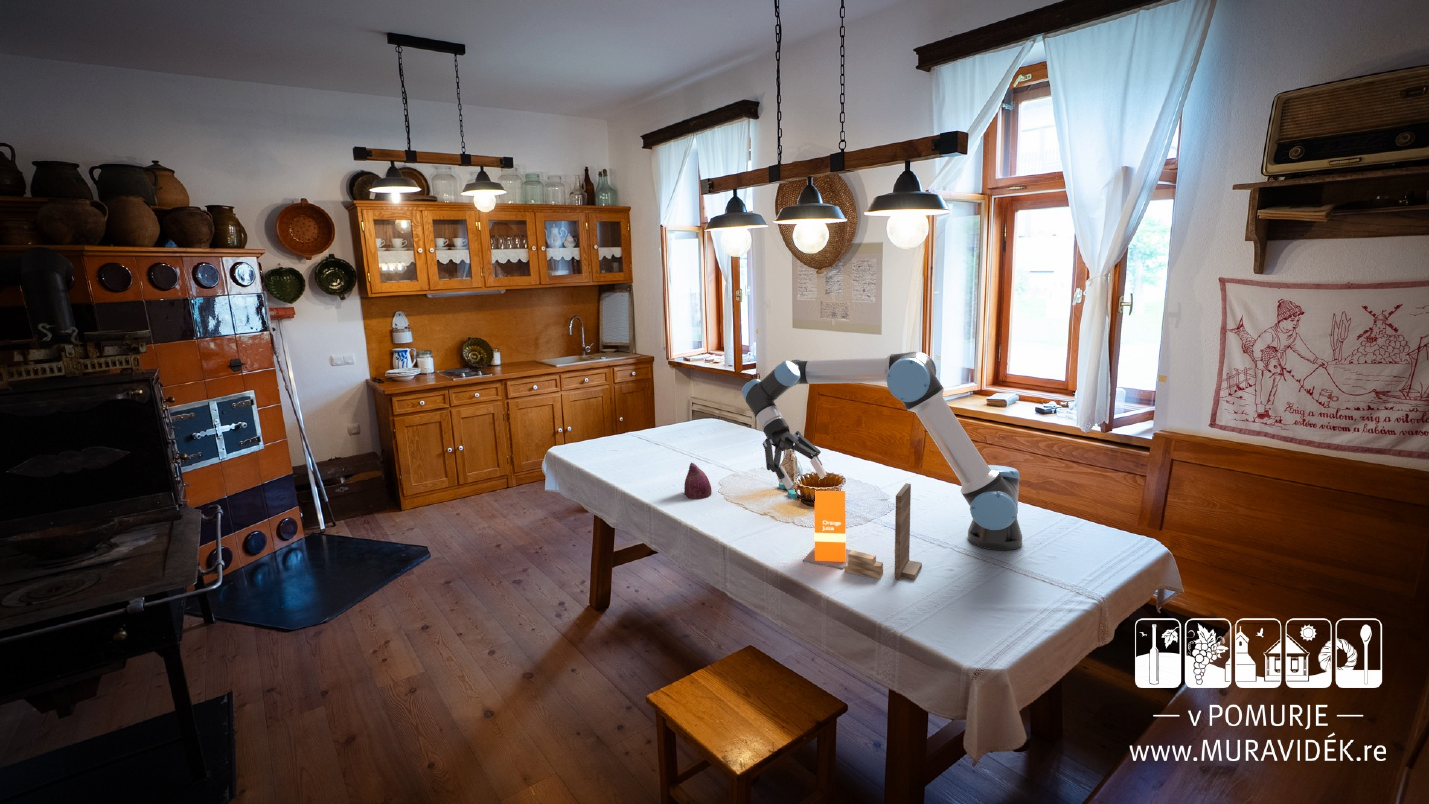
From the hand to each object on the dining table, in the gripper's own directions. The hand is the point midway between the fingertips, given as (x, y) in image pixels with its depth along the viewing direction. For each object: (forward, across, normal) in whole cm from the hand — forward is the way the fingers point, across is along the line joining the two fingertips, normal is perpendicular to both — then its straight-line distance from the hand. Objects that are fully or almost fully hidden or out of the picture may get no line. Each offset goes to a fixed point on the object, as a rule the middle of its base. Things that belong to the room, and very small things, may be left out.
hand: (807, 482), depth 197 cm
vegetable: (-28, -1, -58) cm, 65 cm away
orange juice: (+21, 0, -8) cm, 23 cm away
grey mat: (+21, 0, -8) cm, 23 cm away
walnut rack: (+32, -6, +2) cm, 32 cm away
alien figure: (-9, -35, -39) cm, 53 cm away
